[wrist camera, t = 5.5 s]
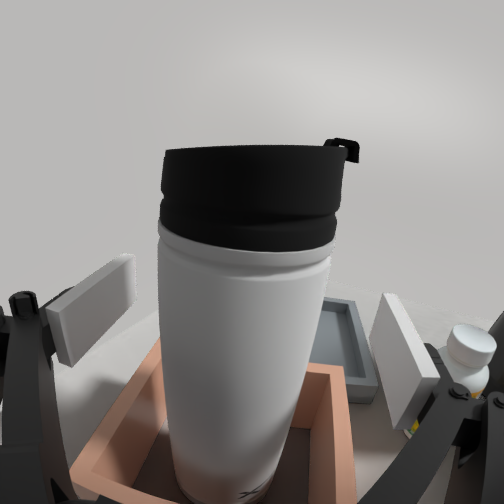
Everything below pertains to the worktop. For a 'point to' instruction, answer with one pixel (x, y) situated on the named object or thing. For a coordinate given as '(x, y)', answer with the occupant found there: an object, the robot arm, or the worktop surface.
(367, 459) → the worktop surface
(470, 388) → the supplement bottle
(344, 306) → the grey tray
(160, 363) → the square planter box
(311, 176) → the travel mug
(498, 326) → the robot arm
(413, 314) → the worktop surface
